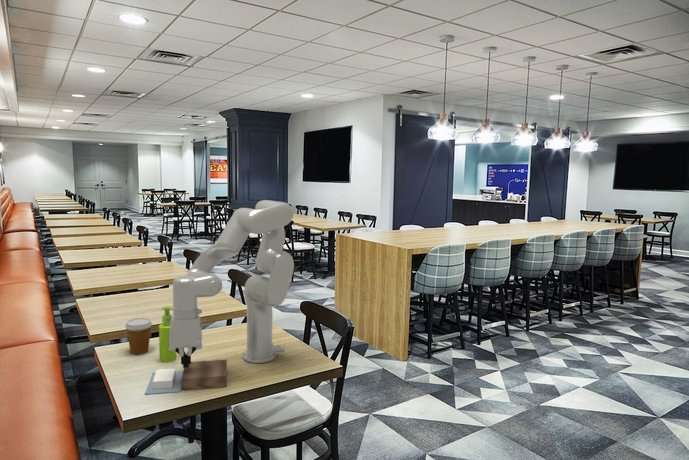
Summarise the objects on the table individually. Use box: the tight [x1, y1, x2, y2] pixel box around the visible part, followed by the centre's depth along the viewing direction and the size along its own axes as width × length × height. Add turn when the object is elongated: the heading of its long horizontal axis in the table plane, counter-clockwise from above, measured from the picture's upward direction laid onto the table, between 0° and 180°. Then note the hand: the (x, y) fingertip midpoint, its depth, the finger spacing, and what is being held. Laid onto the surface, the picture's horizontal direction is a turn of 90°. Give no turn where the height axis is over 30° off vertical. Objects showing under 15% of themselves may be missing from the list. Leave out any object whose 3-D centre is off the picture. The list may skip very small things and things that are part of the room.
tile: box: [153, 368, 177, 389], centre depth 158 cm, size 6×9×2 cm, turn 13°
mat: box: [144, 370, 183, 396], centre depth 158 cm, size 10×15×1 cm
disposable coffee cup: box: [124, 317, 153, 356], centre depth 182 cm, size 10×10×12 cm
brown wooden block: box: [181, 359, 228, 391], centre depth 161 cm, size 14×13×4 cm
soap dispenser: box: [158, 306, 177, 363], centre depth 175 cm, size 6×7×20 cm
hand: (186, 366), depth 159 cm, fingers closed
